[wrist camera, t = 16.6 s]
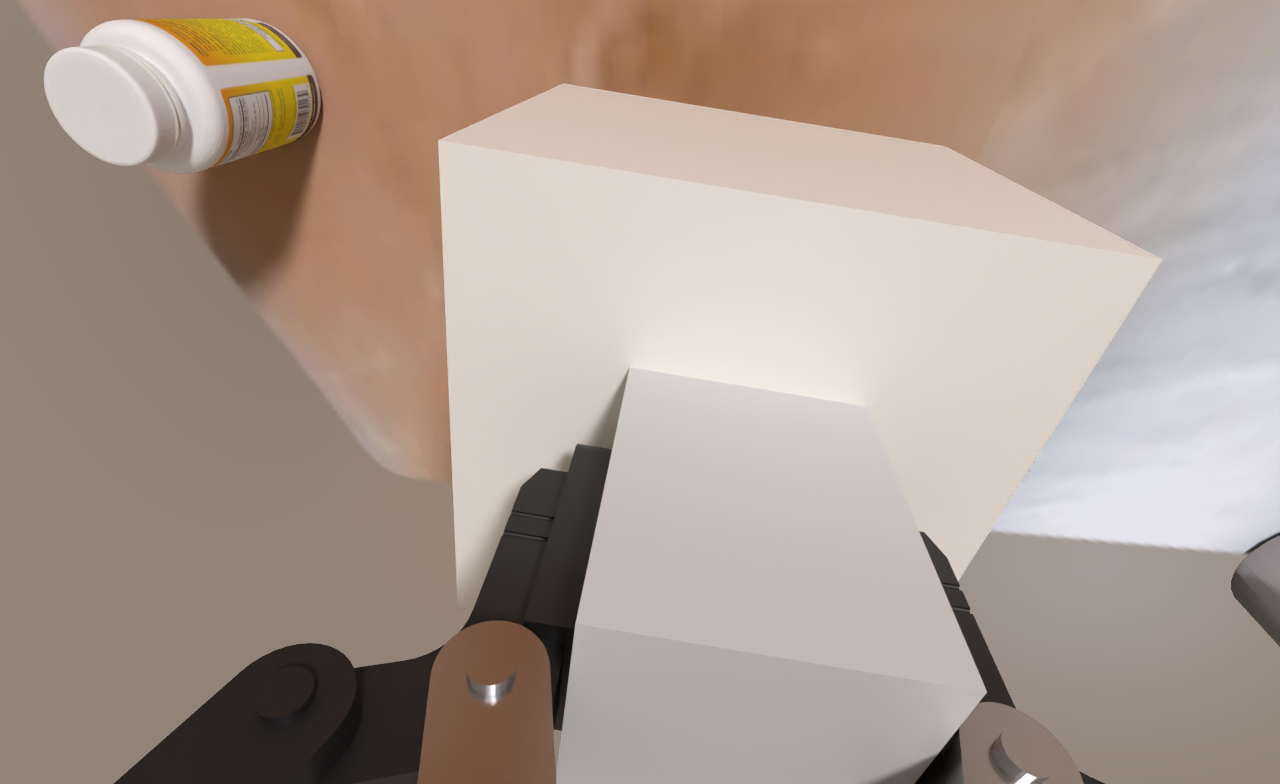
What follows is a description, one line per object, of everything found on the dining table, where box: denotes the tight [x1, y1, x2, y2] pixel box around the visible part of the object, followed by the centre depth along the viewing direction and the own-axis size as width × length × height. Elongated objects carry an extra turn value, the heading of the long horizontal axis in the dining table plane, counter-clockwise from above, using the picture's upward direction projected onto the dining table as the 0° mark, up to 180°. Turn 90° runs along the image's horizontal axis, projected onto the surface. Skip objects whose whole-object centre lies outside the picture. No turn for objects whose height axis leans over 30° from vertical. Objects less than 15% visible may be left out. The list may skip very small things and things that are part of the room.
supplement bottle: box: [44, 18, 321, 174], centre depth 26 cm, size 6×6×10 cm
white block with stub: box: [438, 84, 1163, 784], centre depth 13 cm, size 10×10×14 cm
